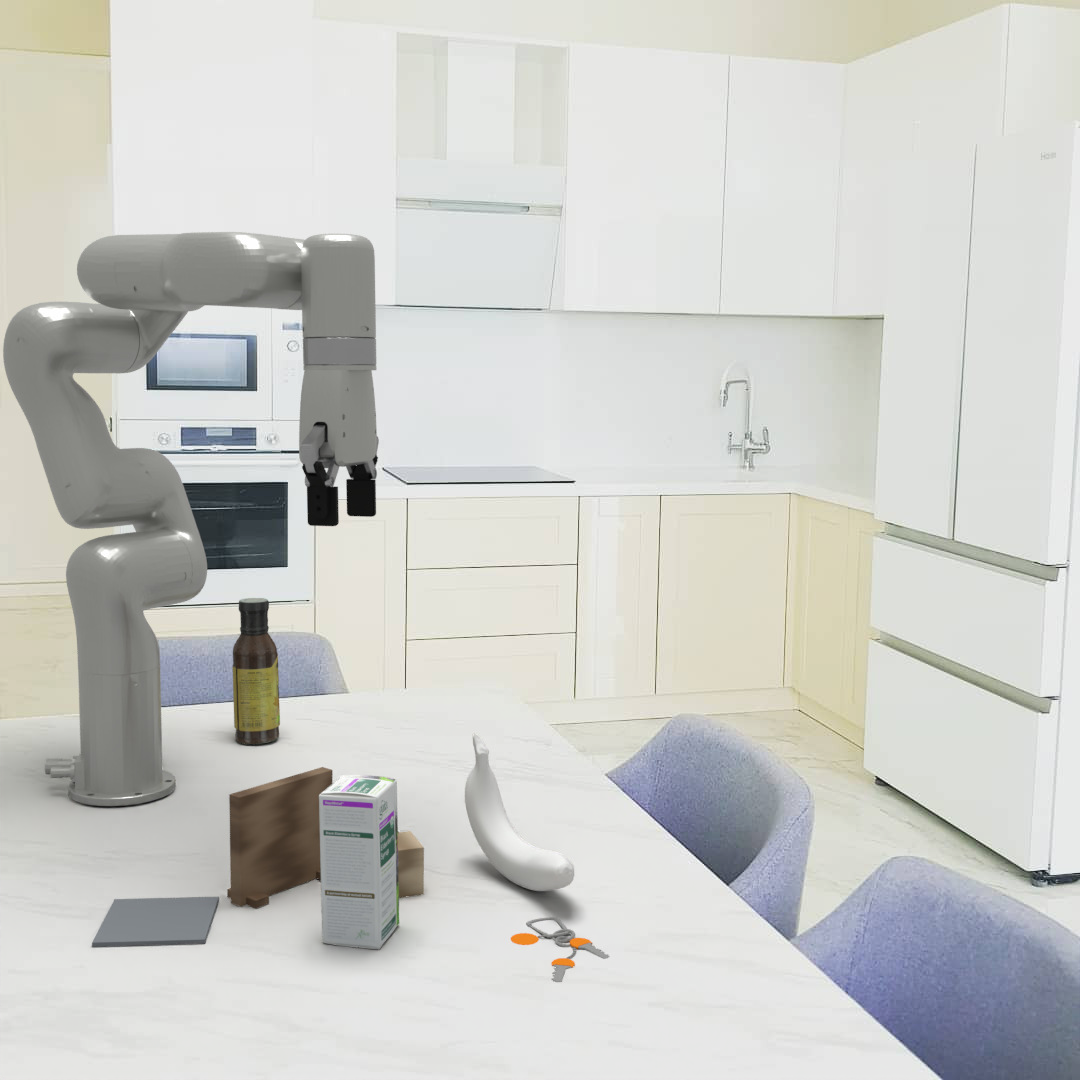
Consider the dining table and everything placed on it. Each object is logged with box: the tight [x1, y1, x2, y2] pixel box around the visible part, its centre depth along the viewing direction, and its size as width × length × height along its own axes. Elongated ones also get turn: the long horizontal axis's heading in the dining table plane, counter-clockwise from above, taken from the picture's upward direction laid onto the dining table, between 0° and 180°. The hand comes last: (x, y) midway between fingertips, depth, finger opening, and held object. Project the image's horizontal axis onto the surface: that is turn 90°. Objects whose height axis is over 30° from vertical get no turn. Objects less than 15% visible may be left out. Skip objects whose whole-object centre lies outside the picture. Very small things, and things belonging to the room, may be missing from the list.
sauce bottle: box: [232, 597, 281, 746], centre depth 188 cm, size 6×6×20 cm
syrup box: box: [319, 774, 400, 950], centre depth 125 cm, size 6×6×14 cm
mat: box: [91, 896, 220, 948], centre depth 128 cm, size 10×10×1 cm
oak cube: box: [398, 830, 425, 899], centre depth 137 cm, size 5×5×5 cm
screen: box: [226, 766, 333, 909], centre depth 136 cm, size 12×4×11 cm, turn 141°
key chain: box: [510, 916, 610, 983], centre depth 124 cm, size 13×7×1 cm, turn 24°
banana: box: [464, 733, 575, 892], centre depth 138 cm, size 5×19×15 cm, turn 37°
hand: (343, 520), depth 143 cm, fingers open, 9 cm apart
